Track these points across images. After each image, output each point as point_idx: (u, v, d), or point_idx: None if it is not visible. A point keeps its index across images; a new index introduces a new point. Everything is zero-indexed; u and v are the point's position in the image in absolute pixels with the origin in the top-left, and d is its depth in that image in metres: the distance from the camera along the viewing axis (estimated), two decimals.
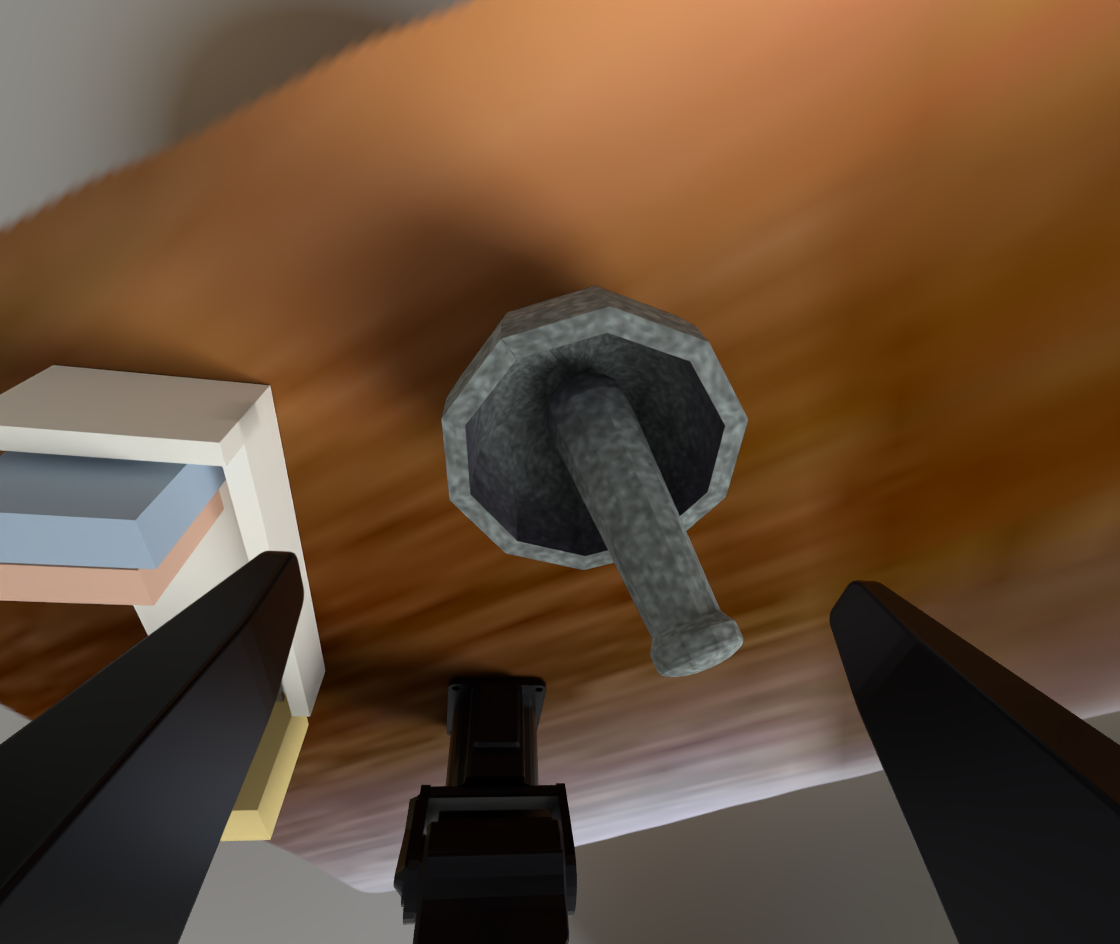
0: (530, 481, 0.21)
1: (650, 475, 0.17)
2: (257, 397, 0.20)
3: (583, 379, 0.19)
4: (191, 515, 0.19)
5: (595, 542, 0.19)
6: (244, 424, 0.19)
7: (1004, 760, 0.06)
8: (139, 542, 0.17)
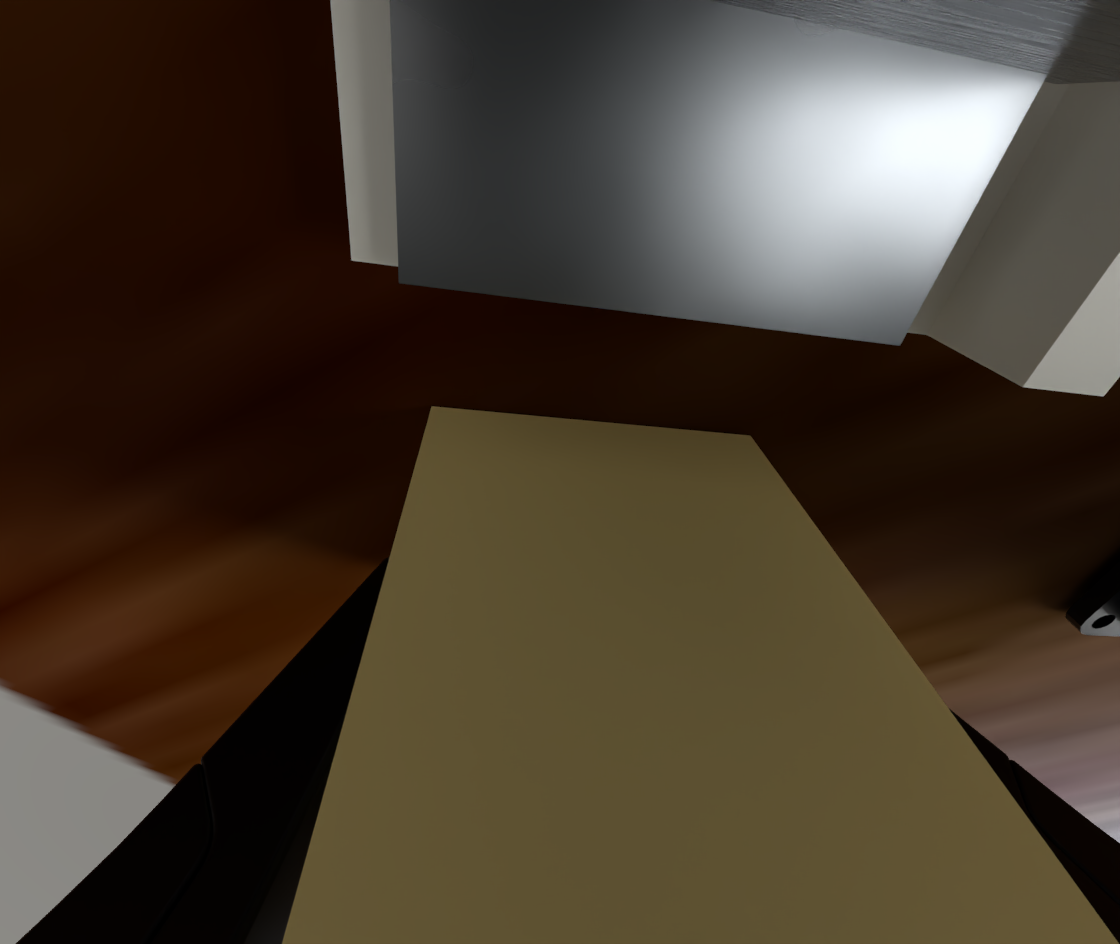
0: None
1: None
2: None
3: None
4: None
5: None
6: None
7: None
8: None
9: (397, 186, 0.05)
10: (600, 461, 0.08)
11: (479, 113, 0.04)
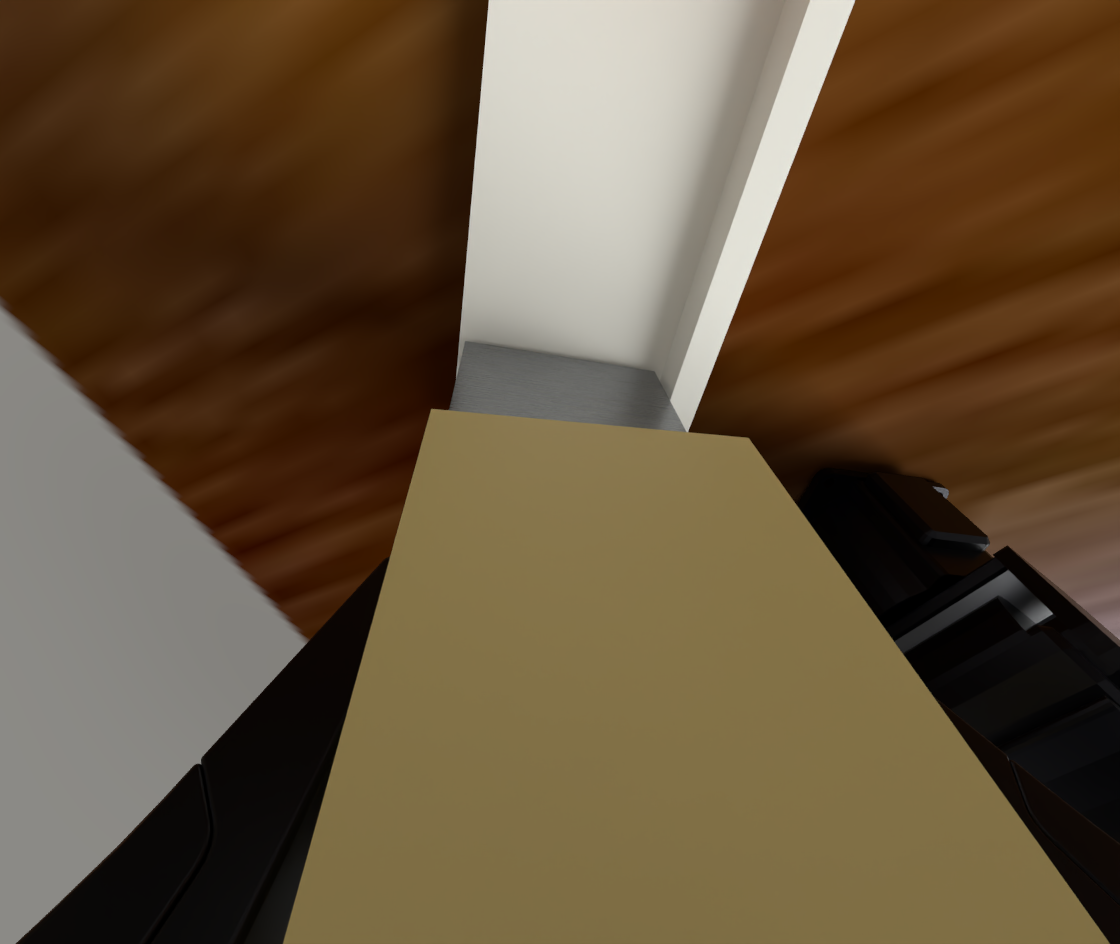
0: None
1: None
2: None
3: None
4: None
5: None
6: None
7: None
8: None
9: None
10: (598, 463, 0.08)
11: None
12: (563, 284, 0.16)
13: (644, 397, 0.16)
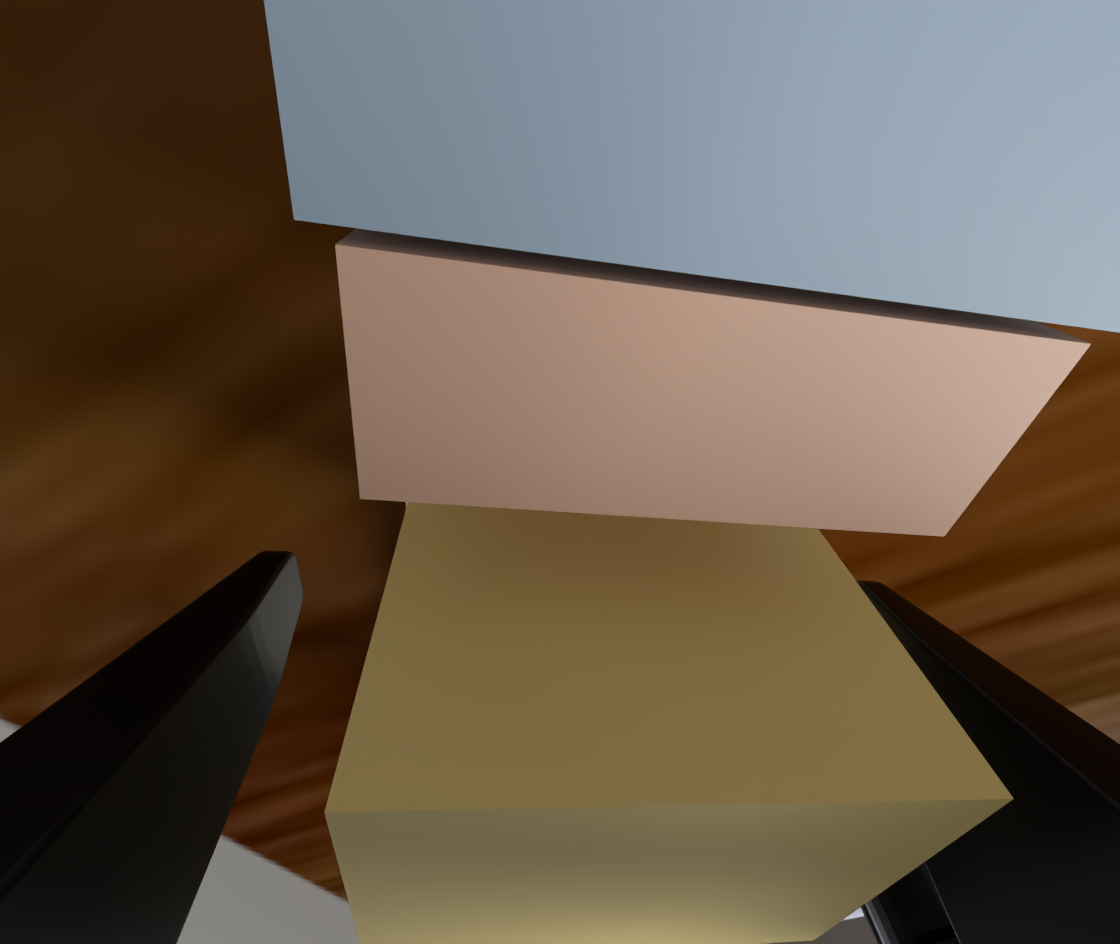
0: None
1: None
2: None
3: None
4: None
5: None
6: None
7: (1005, 760, 0.06)
8: None
9: None
10: None
11: None
12: None
13: None
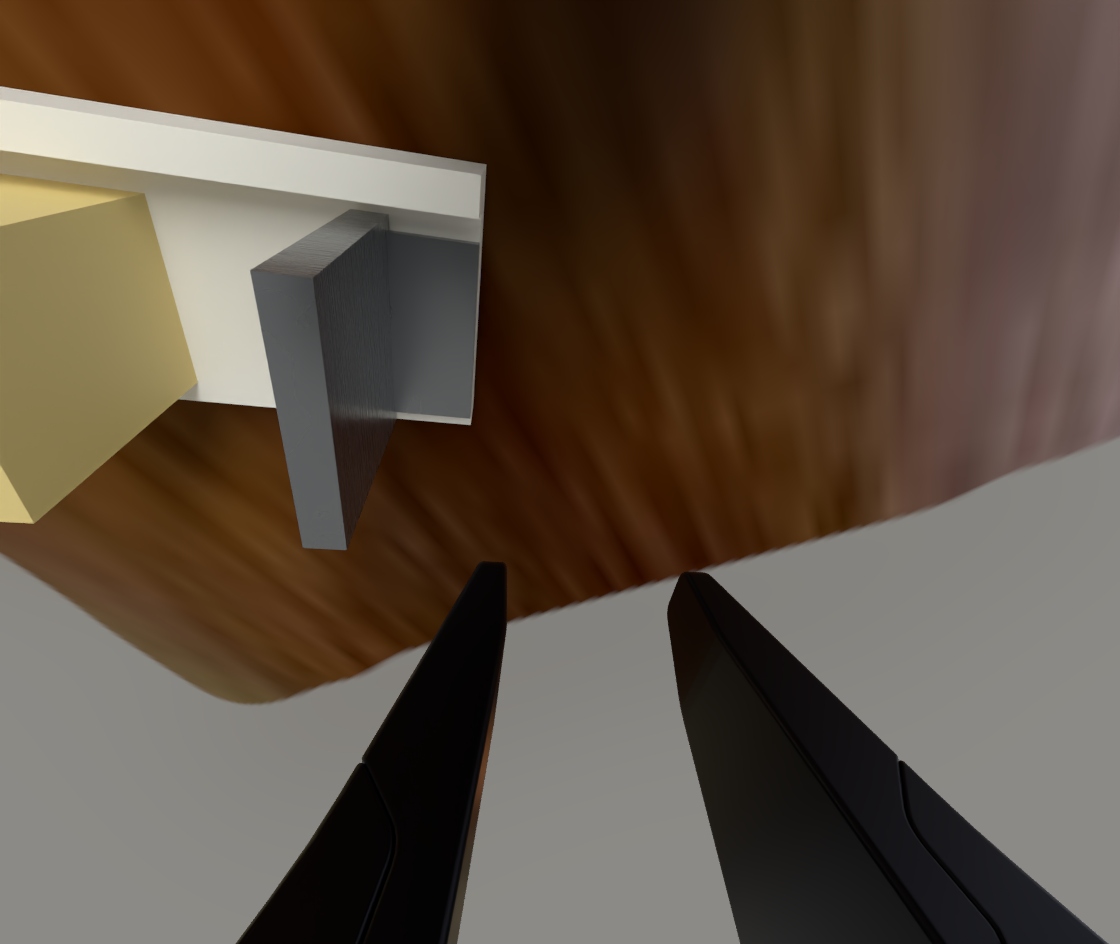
0: None
1: None
2: None
3: None
4: None
5: None
6: None
7: (772, 761, 0.06)
8: None
9: None
10: None
11: (425, 395, 0.17)
12: None
13: None
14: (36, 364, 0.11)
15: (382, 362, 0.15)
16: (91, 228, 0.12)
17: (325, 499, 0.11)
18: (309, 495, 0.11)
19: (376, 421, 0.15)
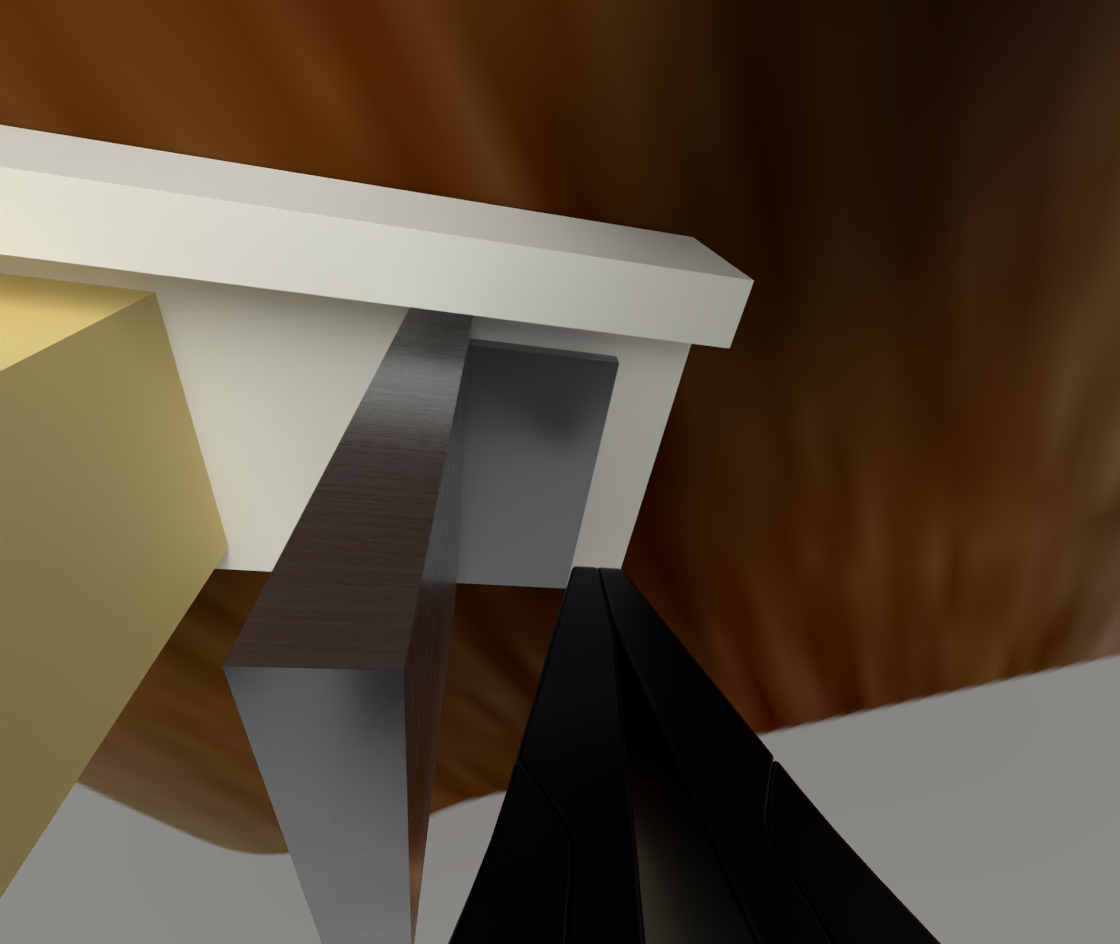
0: None
1: None
2: None
3: None
4: None
5: None
6: None
7: (651, 762, 0.06)
8: None
9: (529, 586, 0.12)
10: None
11: (503, 562, 0.11)
12: None
13: None
14: None
15: (454, 549, 0.09)
16: (58, 383, 0.06)
17: (381, 927, 0.06)
18: (350, 926, 0.06)
19: (445, 649, 0.09)
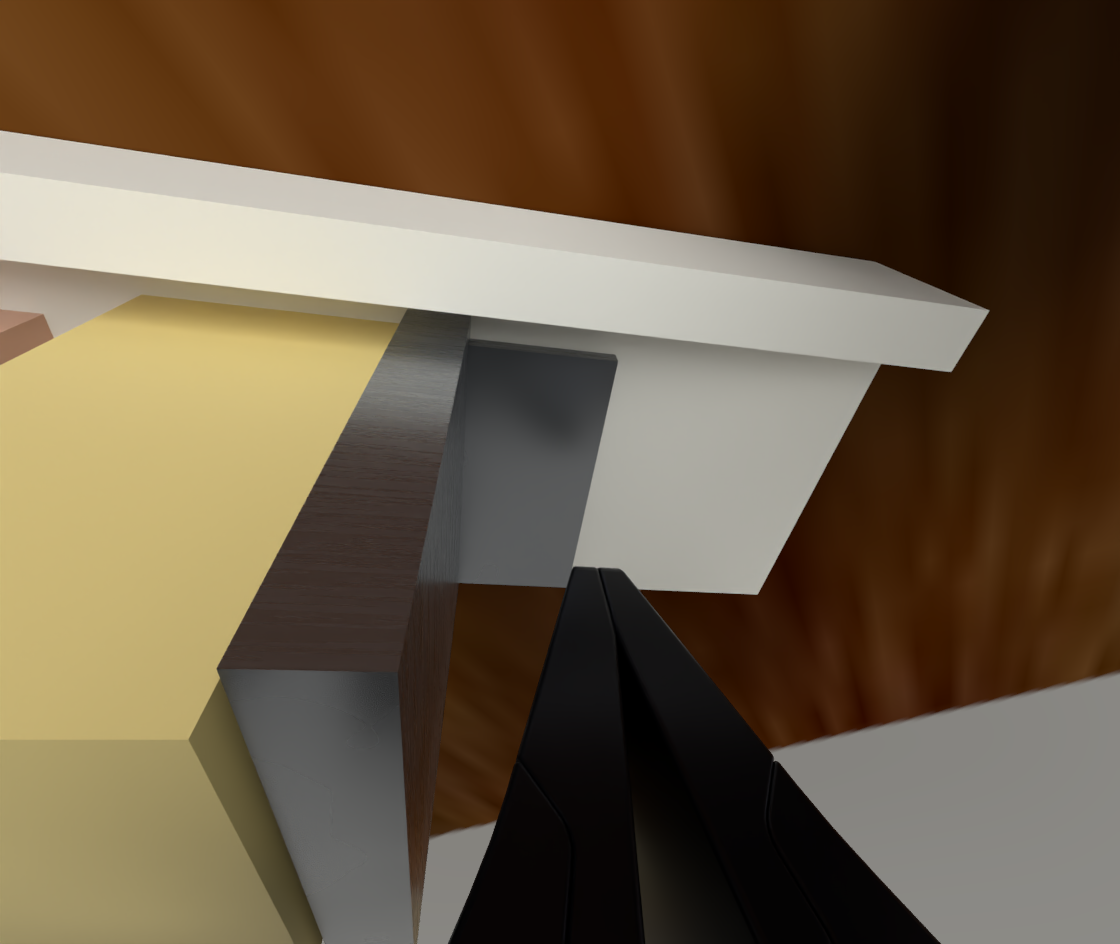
0: None
1: None
2: None
3: None
4: None
5: None
6: None
7: (651, 762, 0.06)
8: None
9: None
10: None
11: (505, 562, 0.11)
12: None
13: None
14: None
15: (455, 549, 0.09)
16: None
17: (383, 928, 0.06)
18: (352, 926, 0.06)
19: (447, 649, 0.09)
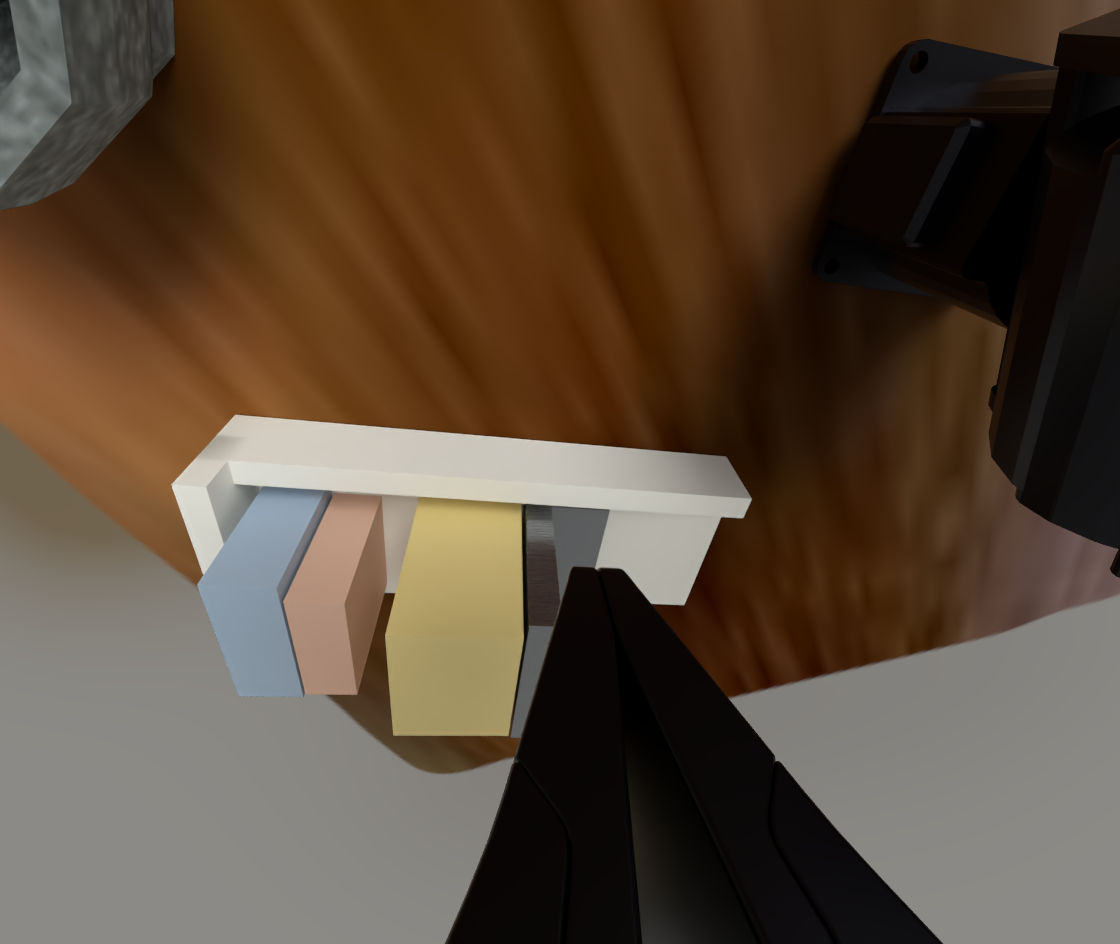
0: None
1: None
2: (222, 430, 0.19)
3: None
4: (295, 532, 0.17)
5: None
6: (211, 453, 0.18)
7: (653, 762, 0.06)
8: (233, 590, 0.15)
9: None
10: None
11: None
12: None
13: (524, 546, 0.19)
14: None
15: None
16: None
17: None
18: (524, 713, 0.18)
19: None
